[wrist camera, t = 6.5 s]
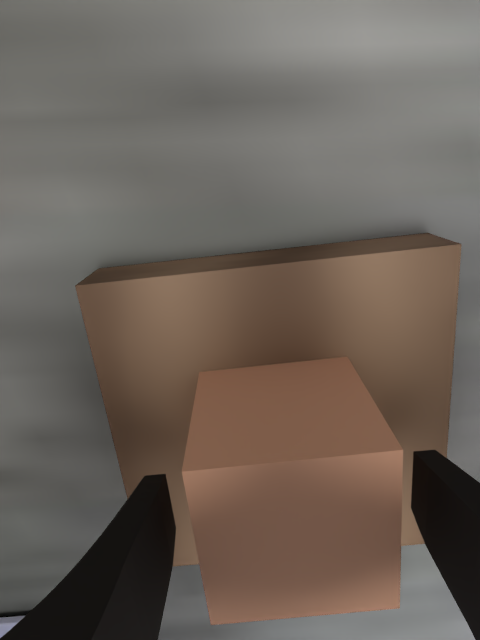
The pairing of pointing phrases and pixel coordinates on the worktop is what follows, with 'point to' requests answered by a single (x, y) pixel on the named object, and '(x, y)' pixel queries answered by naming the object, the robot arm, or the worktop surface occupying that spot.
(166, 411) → the walnut block
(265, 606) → the terracotta cube
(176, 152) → the worktop surface
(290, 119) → the worktop surface
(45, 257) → the worktop surface
